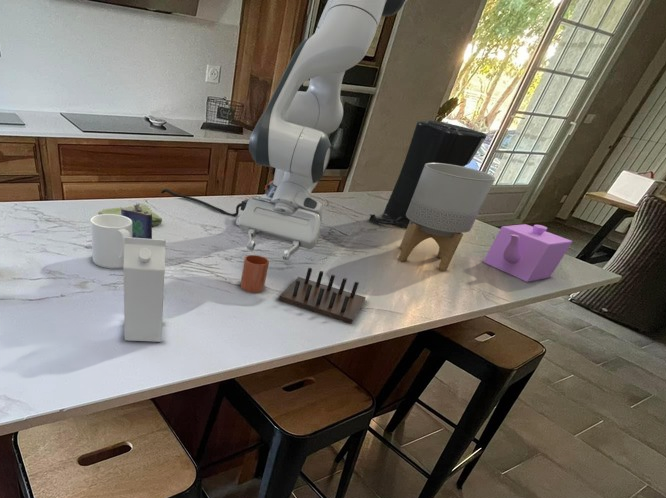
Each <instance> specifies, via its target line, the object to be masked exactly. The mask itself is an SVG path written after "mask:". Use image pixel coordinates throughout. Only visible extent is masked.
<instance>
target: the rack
mask: <svg viewBox="0 0 666 498" xmlns="http://www.w3.org/2000/svg"><path fill="white" fill-rule="evenodd" d="M312 271H313V268H312V267H308V268H307V271H306V275H305V277H301V276H297V277H296V278H295V279H294V281H292V282H291V283H290V284H289V285H288V286H287V288H285V289H284V291H282V293H280V294H279V297H278V301H281V302H284V303H287V304H289V305H293V306H295V307H299V308H301V309H305V310H307V311H310V312H314V313H317V314H320V315H323V316H326V317H329V318H332V319H334V320H339V321H341V322H344V323H348V324H350V325H352V324H353V322H354V321H355V319H356V318H357V315H358V314H359V312H360V310H361V308H362V306H363V305H364V303H365V301H366V296H362V295H360V294H356V293H357V291H358V287H359V284H360V282H359V281H354V284H353V286H352V289H351V292H350V291H347V290H345V287H346V284H347V281H348V278H346V277H343V278H342V280H341V283H340V286H339V288H336V287H334V286H333V284H334V281H335V277H336V274H334V273H332V274H330V277H329V281H328V284H324V283H321V282H322V279H323V276H324V271H323V270H319V272H318V276H317V279H316V281H314V280H311V276H312V275H311V274H312Z"/></svg>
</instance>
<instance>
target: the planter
mask: <svg viewBox="0 0 666 498" xmlns="http://www.w3.org/2000/svg"><path fill="white" fill-rule="evenodd" d="M495 180H496V177H495V176H494V175H492V174H490V173H488V172H485V171H483V170H478V169H475V168H471V167H467V166H464V167H462V166H457V165H451V164H444V163H426V164H425V166H424V168H423V171H422V173H421V176H420V179H419V181H418V184H417V187H416V189H415V192H414V194H413V197H412V200H411V202H410V205H409V208H408V210H407V213H406V217H407V218H408V219H409V220H410V222H409V224H408V227H407V228H405V229H406V230H405V232H404V234H403V238H402V239H401V242H400V245H399V248H400V249H401V251H400V253H399V255H398V258H397V260H398V261H400V262H407V260H408V258H409V256H410V254H411V253H412V252H413V251H414V249H415V248H416V247H417V246H418V245H419V244H420V243H422V242H423V241H425V240H427V239H432V240H434V241H435V242H436V244H437V247H438V252H437V254H436V257H438V258H439V259H440V262H439V265H438V268H437V269H438V270H439V271H441V272H446V271H447V270H448V268H449V266H450V264H451V262H452V259H453V257H454V255H455V253H456V251H457V249H458V247H459V245H460V243H461V240H462V239H463V236H464V233H468V232H470V231H471V230H472V229H473V226H474V224H475V221H476V220H477V218H478V215H479V213H480V211H481V209H482V206H483V205H484V203H485V201H486V199H487V197H488V194H489V193H490V190H491V188H492V186H493V184H494V182H495Z"/></svg>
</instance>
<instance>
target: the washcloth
mask: <svg viewBox="0 0 666 498" xmlns="http://www.w3.org/2000/svg"><path fill="white" fill-rule="evenodd" d="M139 207H140V208H141V209H142V210H144V211H145V210H146V211H148V212H149V213H151V214H152V227H154V226H159V225H160V224H162V223H163V218H162V217H160V216H159V215H158V214H157V213H156V212H153V211H152V209H151V208H150V207H149V206H148V205H146V204H142V205H141V204H140V205H139ZM122 208H131V209H135V207H134V206H130V205H129V206H124V207H121V206H120V207H112V208H103V209H101V210H100V211H98V212H97V215H101V214H116V215H121V209H122Z"/></svg>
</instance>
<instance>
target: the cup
mask: <svg viewBox="0 0 666 498" xmlns="http://www.w3.org/2000/svg"><path fill="white" fill-rule="evenodd" d="M269 266H270V260H269V259H268V258H267V257H265V256H261V255H259V254H258V255H257V254H248V255H246V256H244V261H243V266H242V273H241V277H240V278H241V280H240V284H239V285H240V288H241V290H243V291H245V292H247V293H255V294H257V293H261V292H263V291H264V289H265V285H266V279H267V276H268V270H269Z"/></svg>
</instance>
